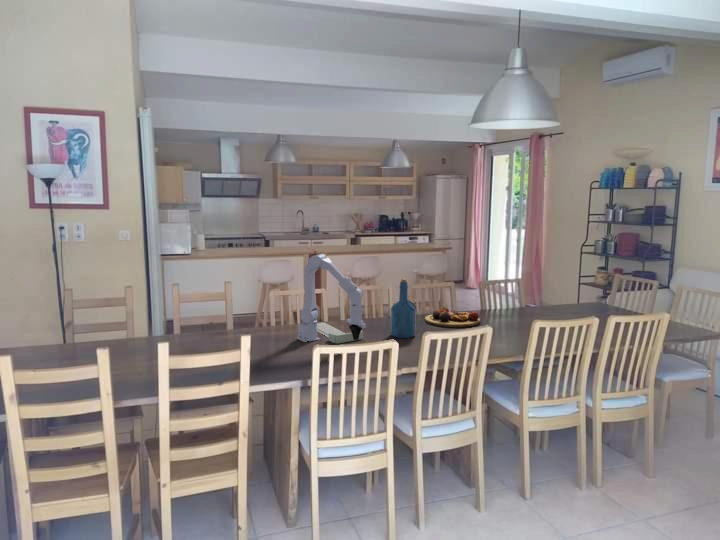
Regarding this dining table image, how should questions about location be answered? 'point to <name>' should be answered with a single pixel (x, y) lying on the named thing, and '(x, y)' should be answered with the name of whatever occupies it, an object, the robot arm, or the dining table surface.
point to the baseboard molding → (327, 329)
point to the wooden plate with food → (452, 318)
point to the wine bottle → (403, 315)
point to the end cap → (343, 337)
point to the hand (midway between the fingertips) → (355, 339)
